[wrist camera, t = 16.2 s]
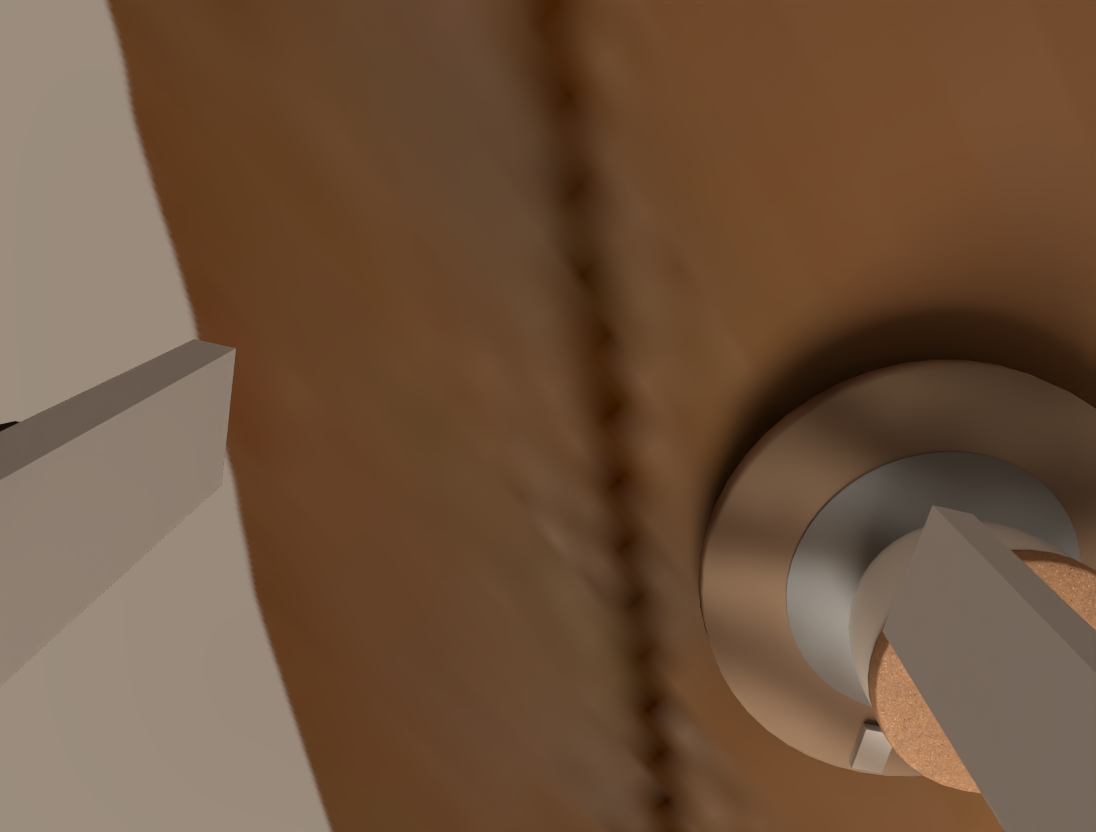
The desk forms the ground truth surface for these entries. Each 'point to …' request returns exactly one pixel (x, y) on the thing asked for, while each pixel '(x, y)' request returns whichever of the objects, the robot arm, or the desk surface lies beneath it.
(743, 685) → the turntable
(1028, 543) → the lidded jar
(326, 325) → the desk surface
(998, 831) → the desk surface
